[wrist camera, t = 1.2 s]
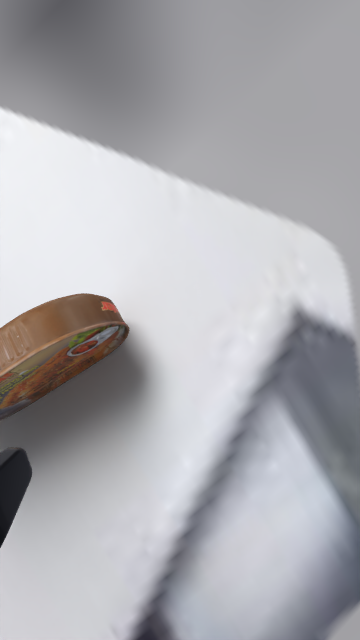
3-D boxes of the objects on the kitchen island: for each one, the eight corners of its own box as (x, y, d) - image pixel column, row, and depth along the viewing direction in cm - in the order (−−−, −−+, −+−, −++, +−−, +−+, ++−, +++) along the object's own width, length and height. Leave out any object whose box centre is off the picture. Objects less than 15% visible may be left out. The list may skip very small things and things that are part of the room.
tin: (-9, 429, 26) (-122, 468, 18) (-25, 394, 27) (-142, 417, 19) (146, 331, 25) (100, 326, 16) (126, 297, 25) (71, 274, 17)
